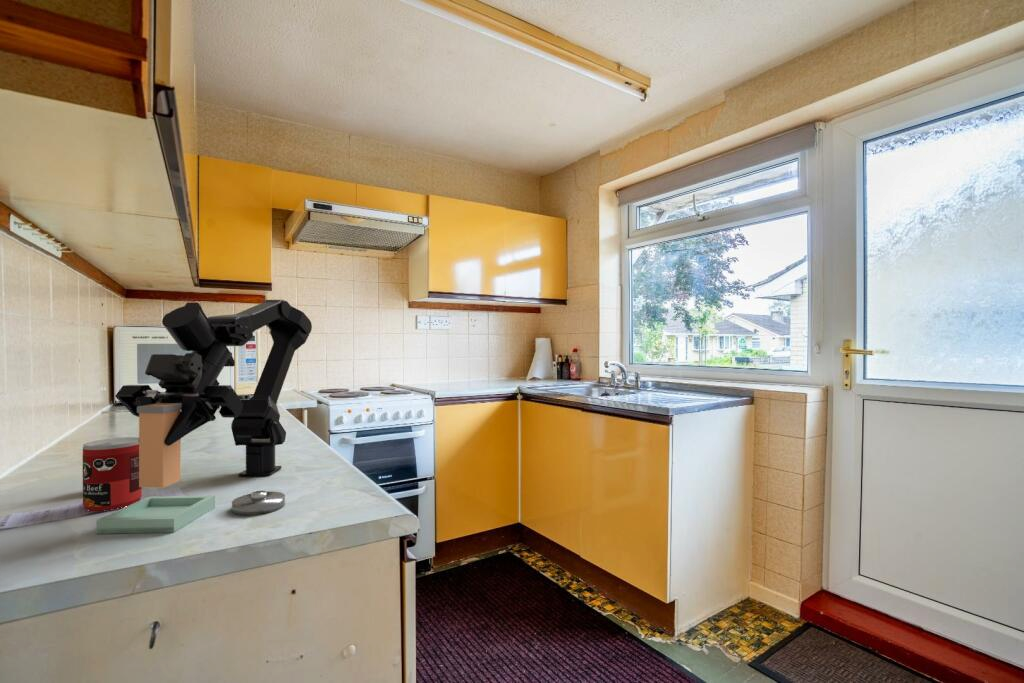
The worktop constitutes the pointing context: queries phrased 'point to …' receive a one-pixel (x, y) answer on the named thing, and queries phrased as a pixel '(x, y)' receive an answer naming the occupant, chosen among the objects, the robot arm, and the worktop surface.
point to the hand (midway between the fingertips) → (153, 444)
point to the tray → (156, 515)
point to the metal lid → (258, 503)
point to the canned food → (111, 473)
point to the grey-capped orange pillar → (158, 445)
